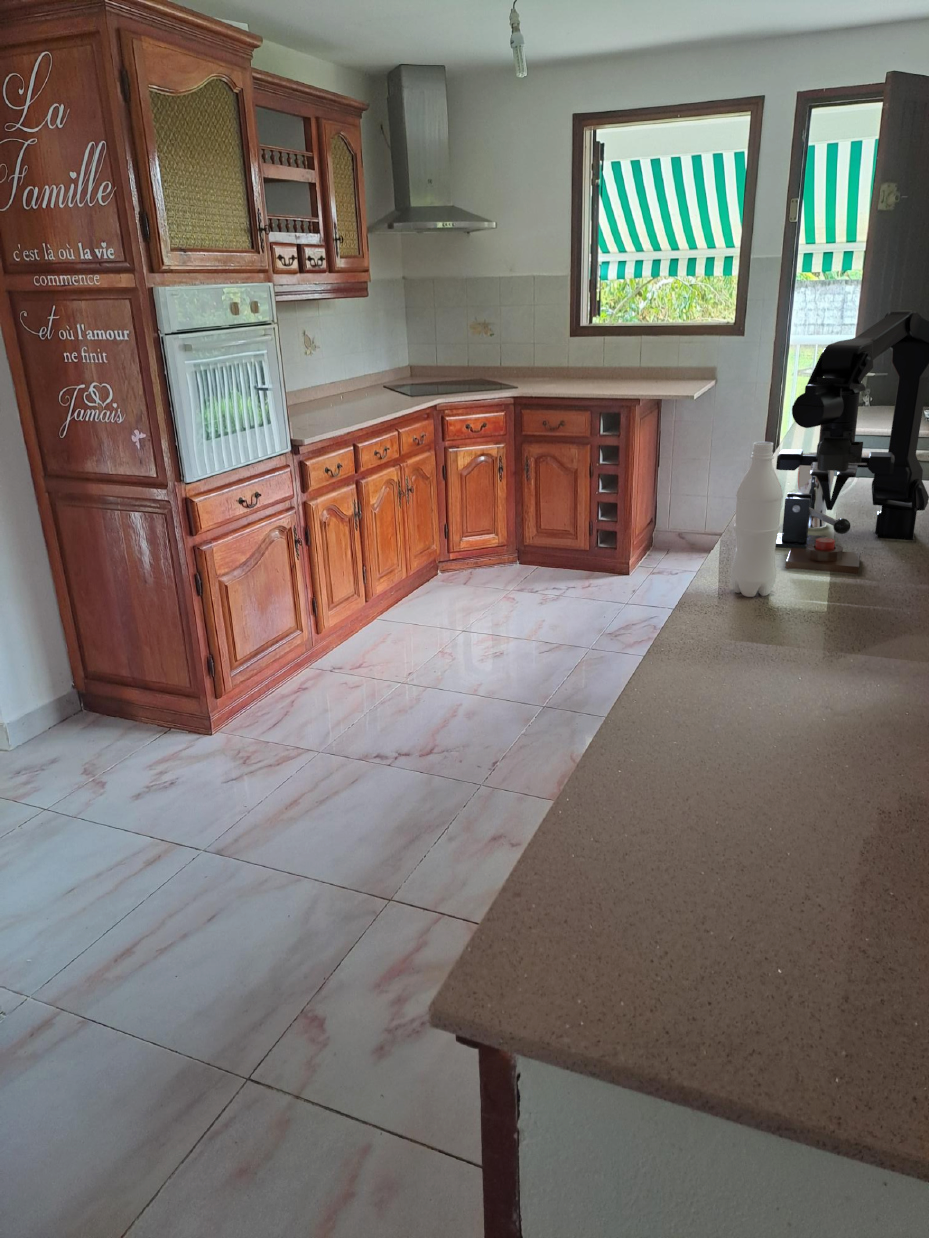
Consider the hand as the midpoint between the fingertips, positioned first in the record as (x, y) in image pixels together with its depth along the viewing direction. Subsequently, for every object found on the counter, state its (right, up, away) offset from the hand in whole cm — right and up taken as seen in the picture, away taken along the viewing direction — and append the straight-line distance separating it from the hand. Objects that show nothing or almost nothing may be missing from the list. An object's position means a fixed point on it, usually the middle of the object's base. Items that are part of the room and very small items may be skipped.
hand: (829, 509), depth 156 cm
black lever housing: (0, -5, +16) cm, 17 cm away
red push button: (0, -7, +2) cm, 7 cm away
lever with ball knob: (+3, -1, +13) cm, 14 cm away
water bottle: (-16, -15, -8) cm, 24 cm away
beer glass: (+8, 0, +28) cm, 30 cm away
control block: (0, -10, +3) cm, 10 cm away
